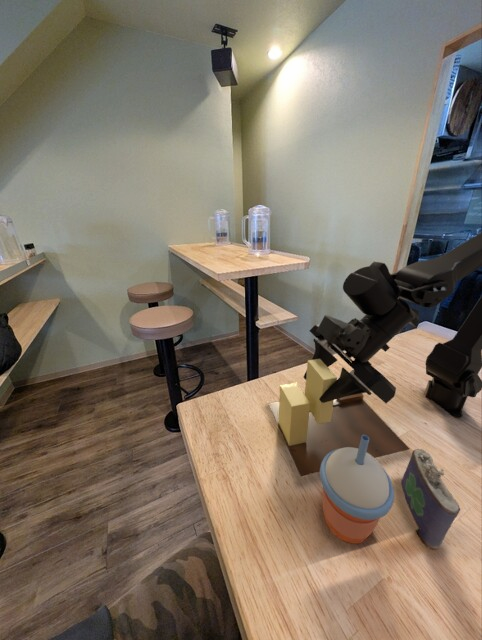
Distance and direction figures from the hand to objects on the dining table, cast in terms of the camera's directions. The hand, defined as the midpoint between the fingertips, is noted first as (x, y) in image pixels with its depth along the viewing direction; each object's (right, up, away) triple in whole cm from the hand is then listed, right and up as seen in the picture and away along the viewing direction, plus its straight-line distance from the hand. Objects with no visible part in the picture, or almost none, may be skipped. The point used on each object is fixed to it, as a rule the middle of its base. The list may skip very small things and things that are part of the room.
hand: (312, 389), depth 46 cm
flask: (+14, -17, -7) cm, 23 cm away
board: (+6, -10, +7) cm, 14 cm away
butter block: (-3, -10, +5) cm, 12 cm away
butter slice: (+2, -5, +3) cm, 6 cm away
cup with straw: (+3, -18, -8) cm, 20 cm away
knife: (+8, -7, +12) cm, 16 cm away
